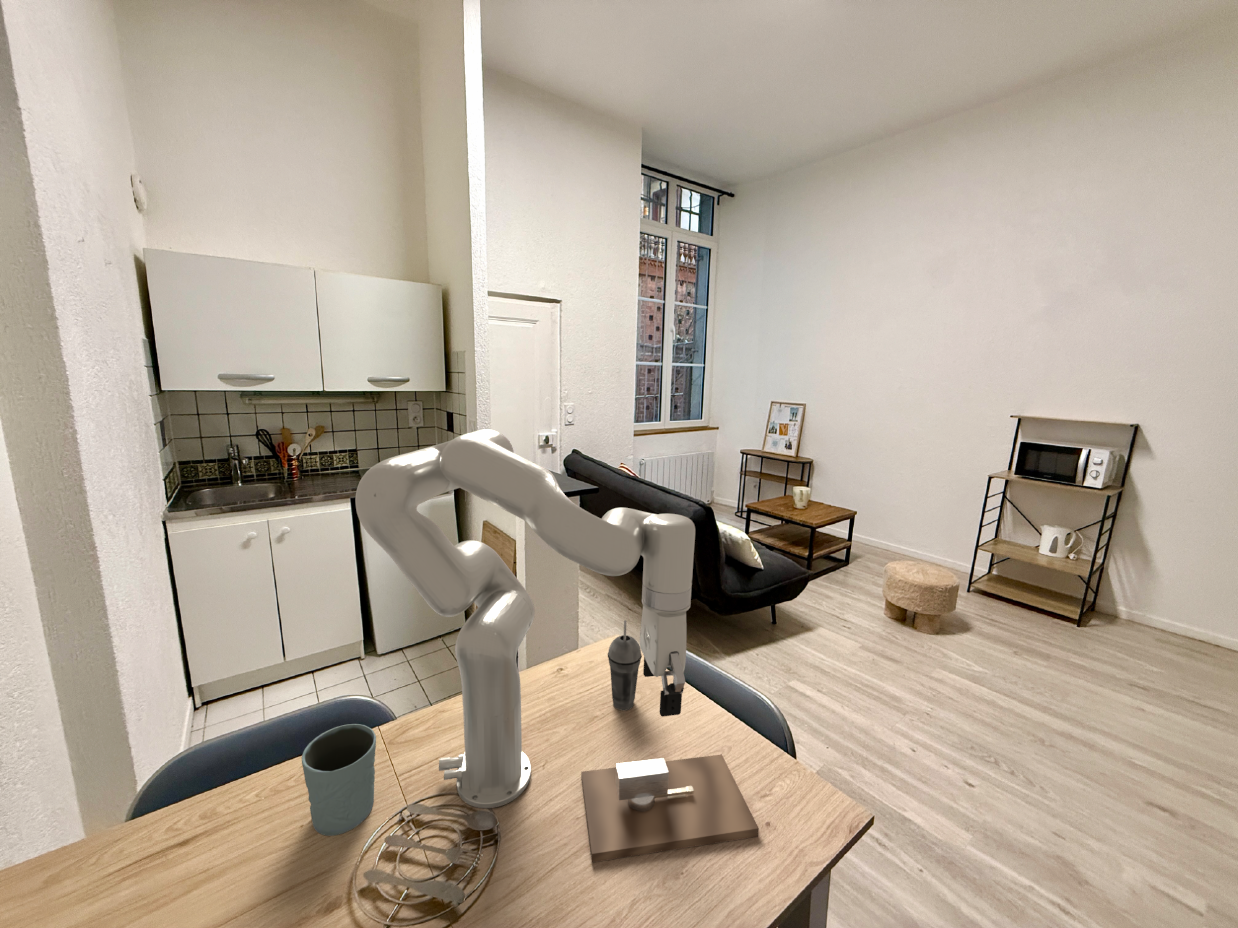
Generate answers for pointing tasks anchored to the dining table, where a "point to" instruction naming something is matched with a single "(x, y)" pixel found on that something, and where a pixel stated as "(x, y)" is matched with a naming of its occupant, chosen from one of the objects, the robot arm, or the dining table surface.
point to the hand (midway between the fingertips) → (660, 693)
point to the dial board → (667, 811)
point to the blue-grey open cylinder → (340, 777)
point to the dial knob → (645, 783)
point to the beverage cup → (624, 670)
